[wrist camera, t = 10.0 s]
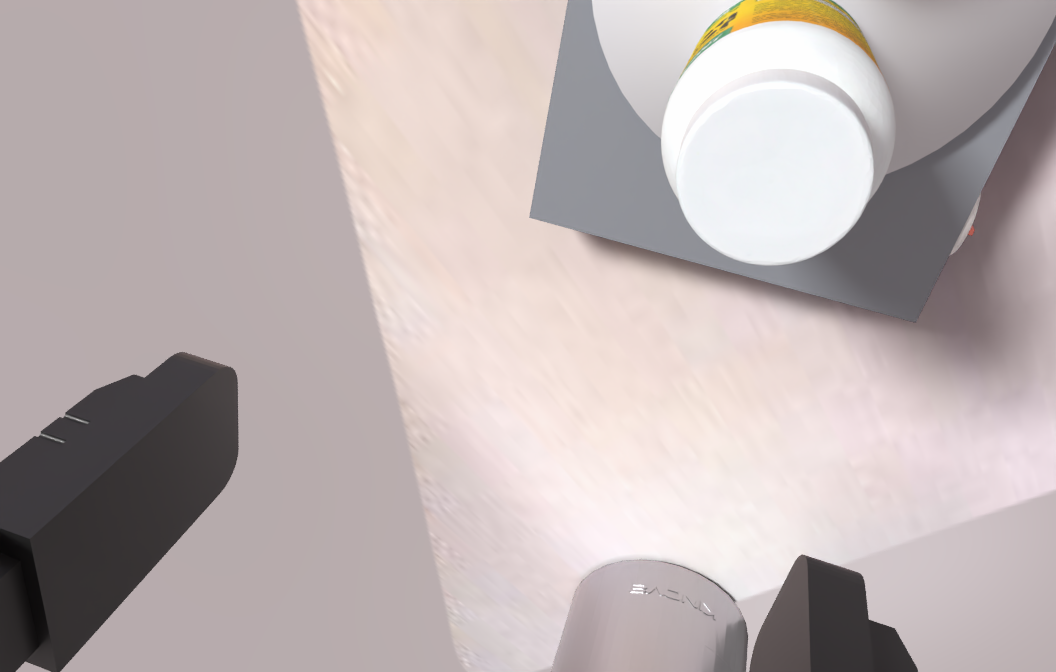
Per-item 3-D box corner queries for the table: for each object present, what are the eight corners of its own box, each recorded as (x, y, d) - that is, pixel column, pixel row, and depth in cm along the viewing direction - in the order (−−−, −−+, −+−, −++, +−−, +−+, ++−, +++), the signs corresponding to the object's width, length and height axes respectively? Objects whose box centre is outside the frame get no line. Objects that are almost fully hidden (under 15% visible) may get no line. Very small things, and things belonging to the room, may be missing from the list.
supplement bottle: (825, 186, 26) (839, 331, 18) (664, 134, 27) (611, 252, 19) (905, 14, 23) (966, 97, 15) (724, -41, 24) (691, 12, 16)
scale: (917, 287, 31) (930, 334, 28) (549, 189, 33) (525, 223, 30) (1212, -317, 21) (1280, -344, 18) (662, -403, 23) (641, -440, 20)
